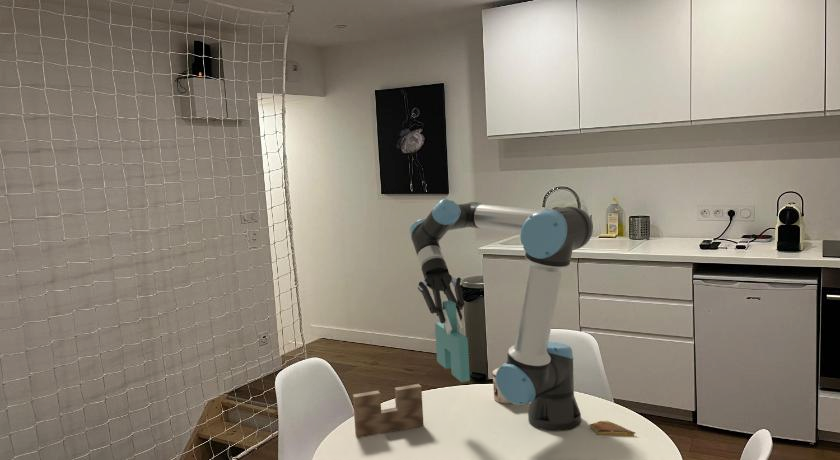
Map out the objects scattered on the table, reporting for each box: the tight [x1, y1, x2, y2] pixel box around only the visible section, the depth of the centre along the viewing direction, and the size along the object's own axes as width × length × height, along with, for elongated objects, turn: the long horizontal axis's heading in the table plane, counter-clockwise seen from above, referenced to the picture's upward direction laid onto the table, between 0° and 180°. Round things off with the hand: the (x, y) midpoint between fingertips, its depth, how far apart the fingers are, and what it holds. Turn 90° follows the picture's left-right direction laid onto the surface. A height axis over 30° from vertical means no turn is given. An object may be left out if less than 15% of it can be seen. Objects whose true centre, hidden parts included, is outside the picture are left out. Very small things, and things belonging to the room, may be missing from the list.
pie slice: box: [588, 420, 636, 437], centre depth 173 cm, size 11×8×2 cm
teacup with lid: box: [492, 362, 512, 404], centre depth 201 cm, size 12×9×12 cm
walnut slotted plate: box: [352, 383, 424, 439], centre depth 183 cm, size 20×2×12 cm, turn 108°
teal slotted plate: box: [434, 300, 471, 383], centre depth 178 cm, size 20×2×20 cm, turn 18°
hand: (455, 330), depth 174 cm, fingers closed on teal slotted plate, 2 cm apart
